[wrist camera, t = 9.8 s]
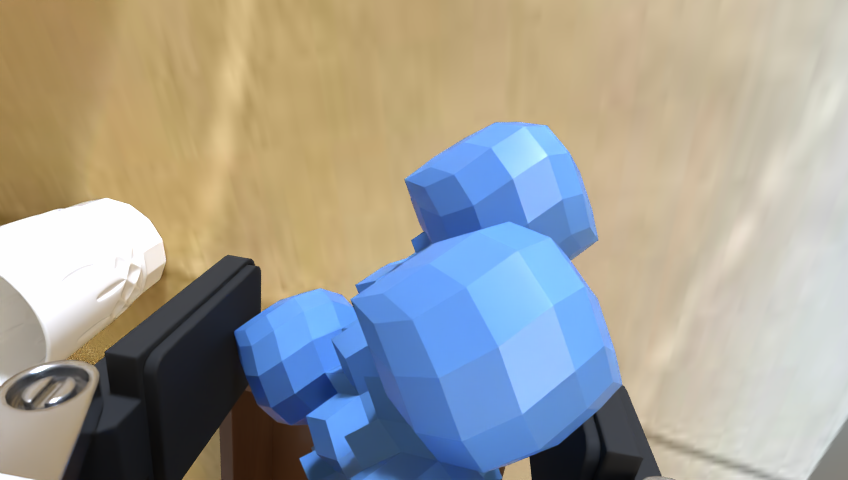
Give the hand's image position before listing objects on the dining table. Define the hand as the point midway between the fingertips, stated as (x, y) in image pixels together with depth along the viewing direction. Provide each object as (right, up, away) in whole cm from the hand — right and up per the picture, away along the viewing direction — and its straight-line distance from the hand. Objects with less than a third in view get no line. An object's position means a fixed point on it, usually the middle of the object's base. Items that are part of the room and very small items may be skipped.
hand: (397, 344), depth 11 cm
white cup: (-20, +2, +21) cm, 29 cm away
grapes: (+1, +2, +5) cm, 5 cm away
